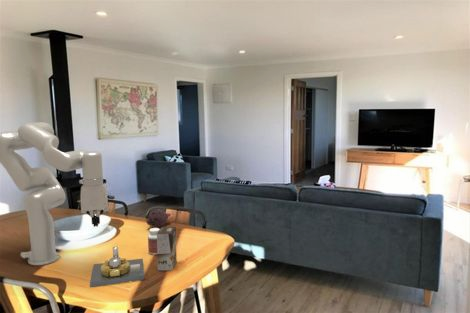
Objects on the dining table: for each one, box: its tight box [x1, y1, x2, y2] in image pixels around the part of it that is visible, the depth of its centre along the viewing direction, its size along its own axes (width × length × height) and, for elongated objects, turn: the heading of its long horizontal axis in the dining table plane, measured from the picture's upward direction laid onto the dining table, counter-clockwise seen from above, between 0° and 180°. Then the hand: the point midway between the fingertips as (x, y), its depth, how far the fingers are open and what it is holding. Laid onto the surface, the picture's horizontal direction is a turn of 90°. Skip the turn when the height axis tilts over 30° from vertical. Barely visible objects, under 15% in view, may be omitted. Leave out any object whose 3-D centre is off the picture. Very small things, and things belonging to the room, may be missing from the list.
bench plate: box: [89, 256, 146, 288], centre depth 146 cm, size 20×16×7 cm
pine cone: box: [146, 208, 171, 227], centre depth 203 cm, size 18×10×10 cm, turn 150°
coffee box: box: [156, 226, 178, 271], centre depth 153 cm, size 9×6×16 cm
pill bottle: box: [147, 227, 161, 255], centre depth 168 cm, size 6×6×11 cm
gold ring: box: [101, 246, 129, 277], centre depth 147 cm, size 15×11×6 cm
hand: (96, 225), depth 149 cm, fingers closed
